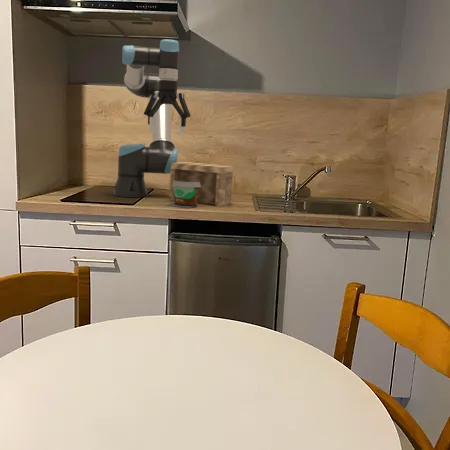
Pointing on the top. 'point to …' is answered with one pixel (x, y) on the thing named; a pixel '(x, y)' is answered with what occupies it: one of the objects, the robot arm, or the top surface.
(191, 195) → the food container
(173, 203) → the grey mat
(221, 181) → the open oak shelf box
